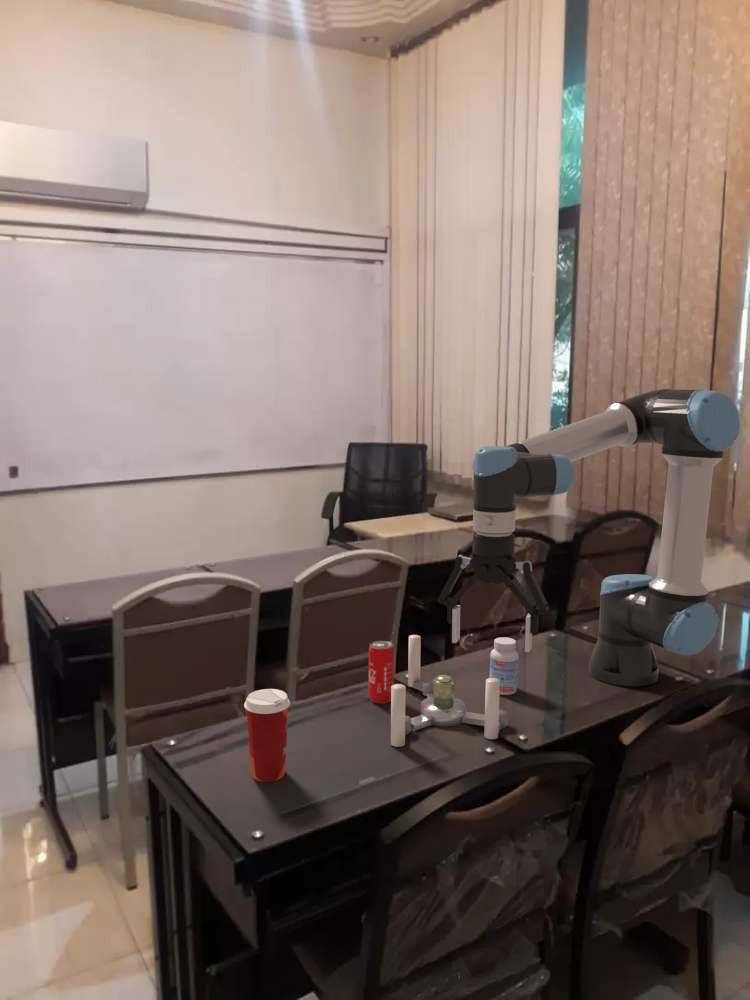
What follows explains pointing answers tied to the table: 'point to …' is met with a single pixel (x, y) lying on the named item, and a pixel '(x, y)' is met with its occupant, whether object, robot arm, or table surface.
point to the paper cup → (267, 733)
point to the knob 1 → (399, 716)
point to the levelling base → (445, 715)
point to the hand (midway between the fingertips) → (491, 645)
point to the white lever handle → (417, 667)
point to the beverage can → (381, 671)
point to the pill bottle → (505, 664)
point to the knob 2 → (493, 710)
